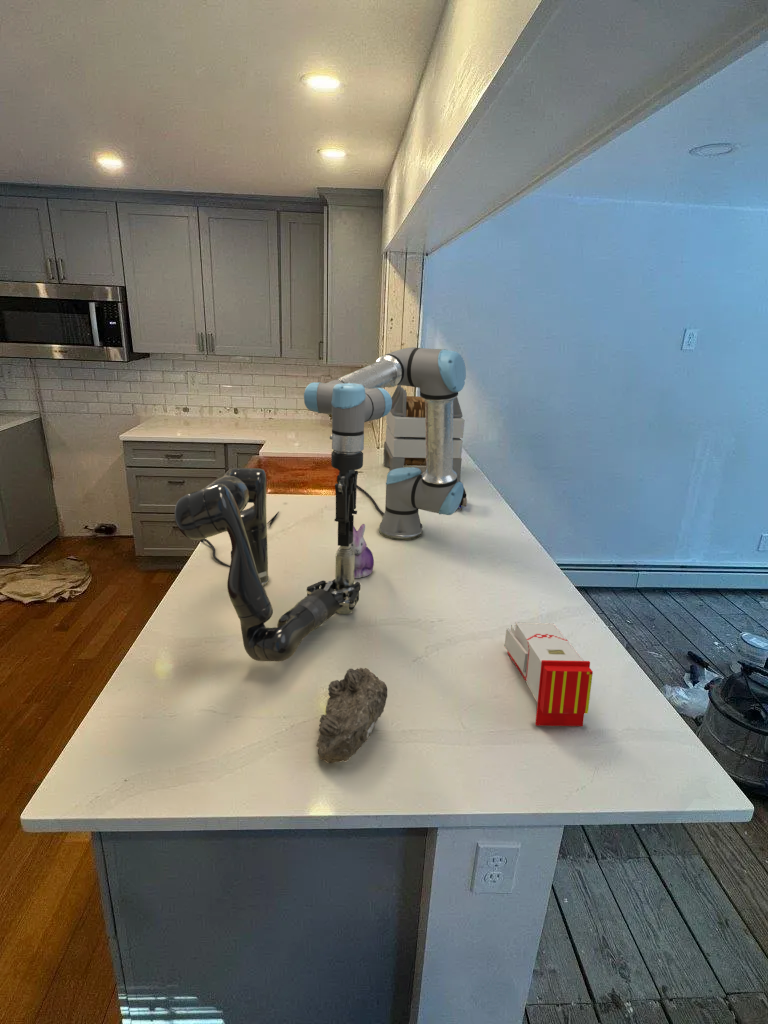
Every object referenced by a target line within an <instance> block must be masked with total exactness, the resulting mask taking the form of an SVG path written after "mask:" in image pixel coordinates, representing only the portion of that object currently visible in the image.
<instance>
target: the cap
mask: <svg viewBox="0 0 768 1024" xmlns="http://www.w3.org/2000/svg"><path fill="white" fill-rule="evenodd" d="M351 543H353V532H351V531H349V544H351Z"/></svg>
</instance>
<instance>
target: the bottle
mask: <svg viewBox="0 0 768 1024" xmlns="http://www.w3.org/2000/svg"><path fill="white" fill-rule="evenodd" d="M354 563H355V554H354V551H353V550H352V548H351V547H350V544H349V546H348V547H347V546H339V547H338V548H337V550H336V552H335V565H334V567H335V569H334V570H335V575H334V579H335V590H337V591H338V590H340V589H343V588H345V589H348V588H350V587H351V586H352V585H354V584H355V578H354ZM342 594H343V593H342ZM348 595H349V593H348ZM353 611H354V609H353V610H350V609H349V606H343V607H341V608H338V609H337V610H336V612H335V613H336V614H339V615H350V614H352V613H353Z"/></svg>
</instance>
